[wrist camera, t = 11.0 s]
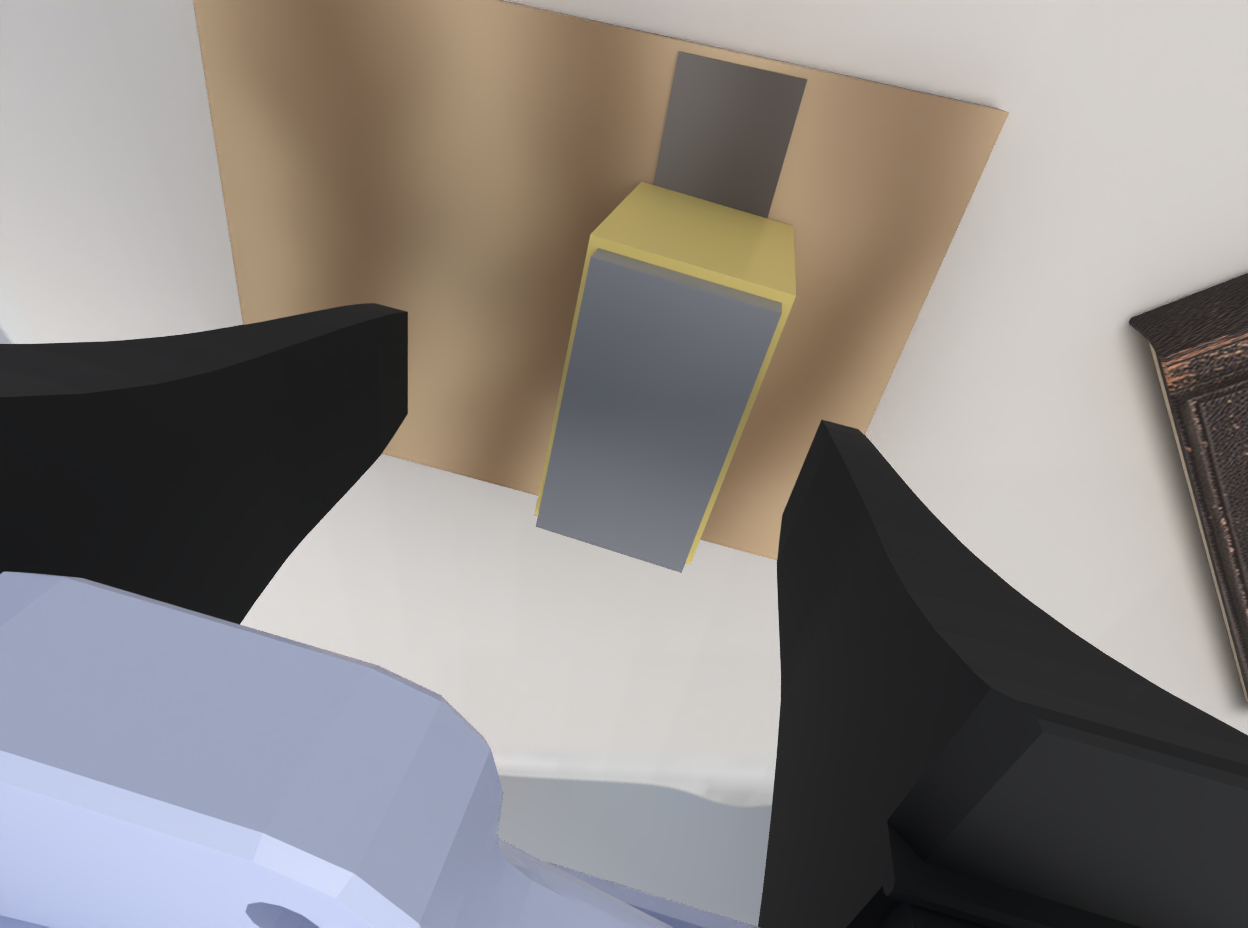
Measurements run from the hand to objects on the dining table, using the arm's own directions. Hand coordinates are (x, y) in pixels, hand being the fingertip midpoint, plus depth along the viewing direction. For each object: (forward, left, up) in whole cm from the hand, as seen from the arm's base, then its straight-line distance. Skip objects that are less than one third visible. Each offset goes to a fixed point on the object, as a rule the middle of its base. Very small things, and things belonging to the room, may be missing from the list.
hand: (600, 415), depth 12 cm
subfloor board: (-3, -2, -9) cm, 10 cm away
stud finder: (+1, -1, -8) cm, 8 cm away
